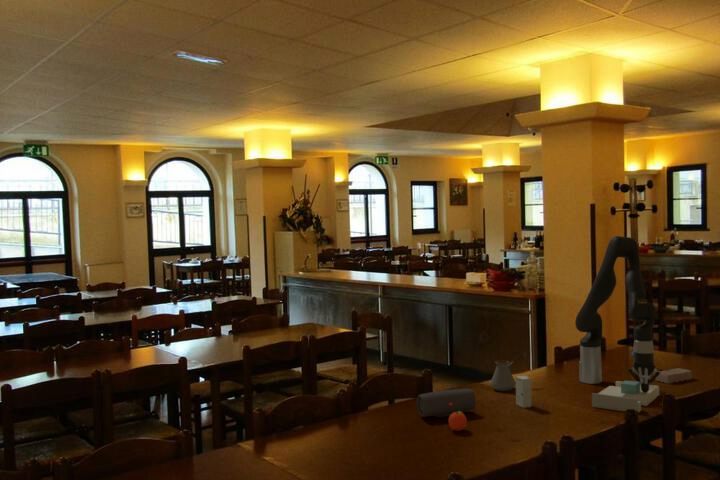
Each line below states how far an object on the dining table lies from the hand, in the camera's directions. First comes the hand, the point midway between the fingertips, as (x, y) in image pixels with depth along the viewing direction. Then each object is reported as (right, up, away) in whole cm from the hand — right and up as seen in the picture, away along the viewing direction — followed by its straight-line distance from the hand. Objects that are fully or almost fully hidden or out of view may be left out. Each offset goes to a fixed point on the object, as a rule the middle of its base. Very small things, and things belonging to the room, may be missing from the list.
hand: (645, 392), depth 273 cm
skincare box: (-50, -7, +4) cm, 50 cm away
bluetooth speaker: (-83, -9, -5) cm, 84 cm away
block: (-5, -1, +3) cm, 6 cm away
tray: (-6, -5, +4) cm, 9 cm away
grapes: (+24, -2, +60) cm, 64 cm away
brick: (+28, -3, +35) cm, 45 cm away
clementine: (-81, -9, -24) cm, 85 cm away
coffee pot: (-48, -6, +35) cm, 60 cm away
